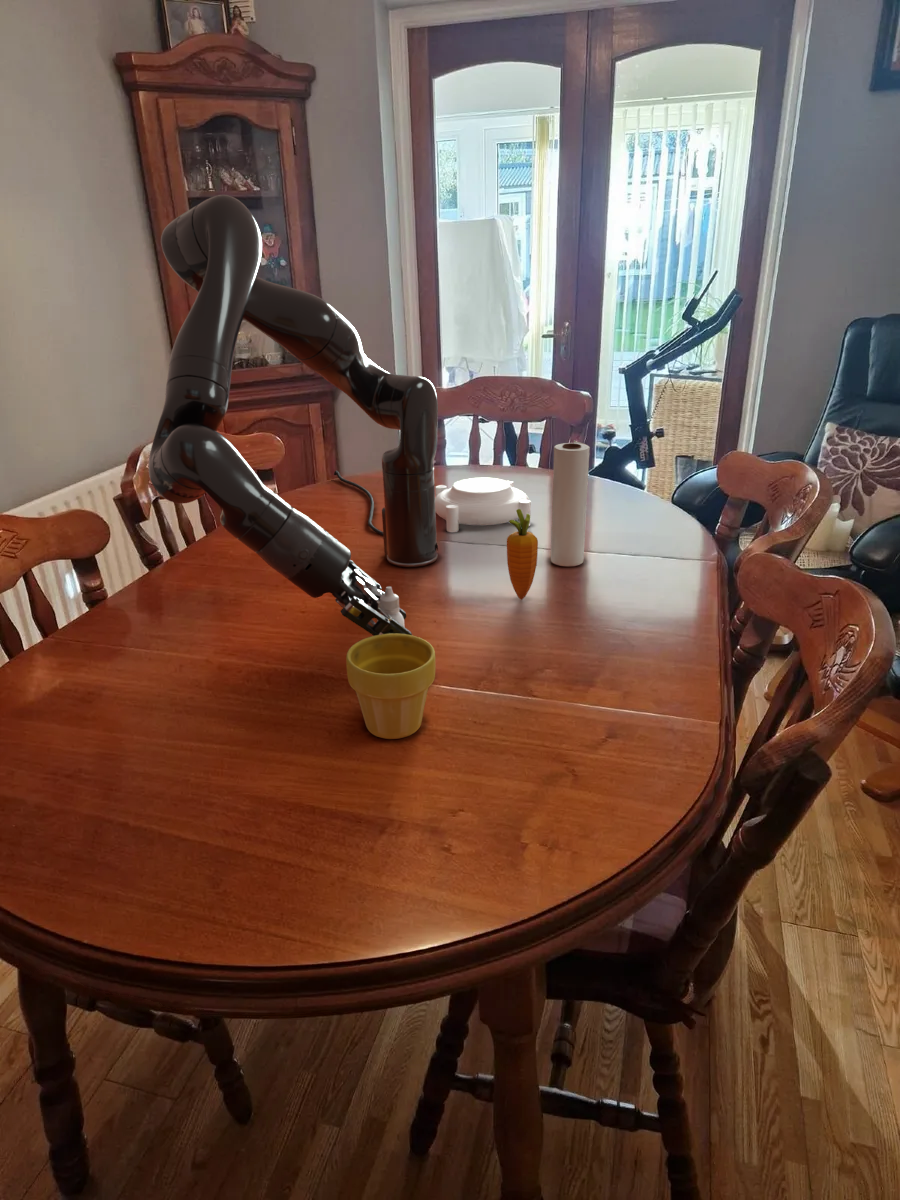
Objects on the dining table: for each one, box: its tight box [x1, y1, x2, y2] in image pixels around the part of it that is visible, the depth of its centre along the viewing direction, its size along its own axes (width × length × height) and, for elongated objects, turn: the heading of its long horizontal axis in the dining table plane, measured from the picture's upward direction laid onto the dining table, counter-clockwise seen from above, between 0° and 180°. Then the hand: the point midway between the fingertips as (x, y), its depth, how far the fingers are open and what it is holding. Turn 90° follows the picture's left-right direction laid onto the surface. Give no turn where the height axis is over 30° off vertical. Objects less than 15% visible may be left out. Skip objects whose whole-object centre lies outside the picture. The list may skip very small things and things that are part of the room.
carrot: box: [506, 509, 539, 601], centre depth 120 cm, size 5×5×15 cm
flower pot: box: [345, 634, 436, 740], centre depth 89 cm, size 10×10×10 cm
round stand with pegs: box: [435, 476, 532, 533], centre depth 162 cm, size 24×24×7 cm
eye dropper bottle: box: [376, 585, 406, 635], centre depth 98 cm, size 4×6×12 cm
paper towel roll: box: [550, 439, 591, 567], centre depth 134 cm, size 7×6×21 cm
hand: (404, 630), depth 98 cm, fingers closed on eye dropper bottle, 5 cm apart
